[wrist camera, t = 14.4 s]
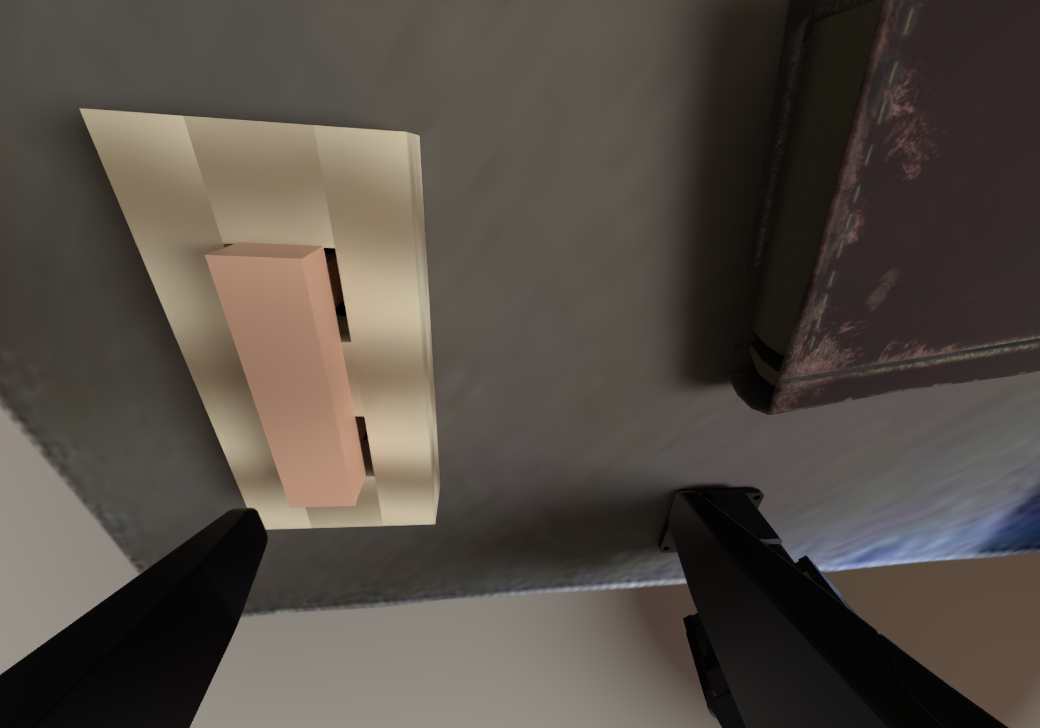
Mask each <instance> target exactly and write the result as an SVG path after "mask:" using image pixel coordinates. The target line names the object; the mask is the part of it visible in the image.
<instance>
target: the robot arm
mask: <svg viewBox="0 0 1040 728" xmlns="http://www.w3.org/2000/svg"><path fill="white" fill-rule="evenodd" d="M763 497H764V495H763V493H762V492H761V491H760V490H759V489H715V490H683V491H680V492H678V493H677V494H676V496H675V498H674V502H673V505H672V508H671V511H670V513H669V516H668V519H667V522H666V524H665V527H664V530H663V532H662V535H661V538H660V541H659V543H658V547H659V549H660V551H661V552H664V553H667V552H678V556H679V559H680V562H681V565H682V568H683V572H684V575H685V578H686V581H687V584H688V587H689V590H690V593H691V596H692V599H693V601H694V604H695V607H696V608H697V611H698V613H696V614H694V615H688V616H686V617H685V618H683V620H684V624H685V627H686V631H687V632H686V634H687V638H688V641H689V645H690V648H691V652H692V655H693V659H694V662H695V666H696V669H697V672H698V676H699V680H700V683H701V686H702V690H703V693H704V696H705V700H706V702H707V707H708V710H709V712H710V714H711V715H712V716H713V717H714V718H716V719H717V720H718V721H719V723H720V725H721V726H722V728H1008V727H1007V726H1005V725H1004V724H1003V723H1001V722H1000V721H998V720H997V719H995V718H994V717H993V716H991V715H990V714H989V713H987V712H986V711H984V710H983V709H982V708H980V707H979V706H977V705H976V704H975V703H973V702H972V701H970V700H969V699H967V698H966V697H965V696H963V695H962V694H961V693H959V692H958V691H956V690H955V689H954V688H952V687H951V686H949V685H948V684H947V683H945V682H944V681H943V680H941V679H940V678H939V677H937V676H936V675H935V674H933V673H932V672H931V671H930V670H928V669H927V668H925V667H924V666H923V665H922V664H920V663H919V662H917V661H916V660H915V659H913V658H912V657H911V656H910V655H908V654H907V653H906V652H904V651H903V650H902V649H900V648H899V647H898V646H896V645H895V644H894V643H893V642H891V641H890V640H889V639H887V638H886V637H885V636H883V635H881V634H878V632H877V631H876V630H875V629H874V628H873V627H872V626H870V625H869V624H868V623H867V622H865V621H864V620H862V619H861V618H860V617H859V616H858V615H857V614H856V612H855V611H854V610H853V609H852V607H851V606H850V605H849V604H848V603H847V602H846V600H845V599H844V598H843V596H842V595H841V594H840V593H839V592H838V590H837V589H836V588H835V587H834V586H833V584H832V583H831V582H830V581H829V580H828V579H827V578H826V576H825V575H824V574H823V573H822V572H821V571H820V570H819V569H818V568H817V567H816V565H815V564H814V563H813V562H812V561H811V560H810V559H809V558H808V557H807V556H804V557H802V558H800V559H798V560H799V561H798V562H796V563H795V562H794V561H793V560H792V558H791V557H790V556H789V554H788V553H787V552H786V551H785V549H784V548H783V547H782V545H781V542H782V541H781V539H780V538H779V536H778V535H777V534H776V532H775V531H774V530H773V529H772V527H771V526H770V525H769V523H768V522H767V521H766V519H765V518H764V517H763V516H762V514H761V513H760V512H759V510H758V509H757V508H758V507H759V505H760V503H761V501H762V499H763ZM267 540H268V536H267V531H266V529H265V527H264V524H263V522H262V520H261V518H260V515H259V513H258V511H257V510H256V509H255V508H235V509H232V510H229V511H228V512H226V513H225V514H224V515H222V516H221V517H219V518H218V519H217V520H215V521H214V522H212V523H211V524H210V525H208V526H207V527H205V528H204V529H203V530H201V531H200V532H198V533H197V534H196V535H194V536H193V537H191V538H190V539H189V540H187V541H186V542H185V543H183V544H182V545H180V546H179V547H178V548H176V549H175V550H173V551H172V552H171V553H169V554H168V555H166V556H165V557H164V558H162V559H161V560H159V561H158V562H157V563H155V564H154V565H153V566H151V567H150V568H148V569H147V570H146V571H144V572H143V573H141V574H140V575H139V576H137V577H136V578H134V579H133V580H132V581H130V582H129V583H127V584H126V585H125V586H123V587H122V588H120V589H119V590H118V591H116V592H115V593H114V594H112V595H111V596H109V597H108V598H107V599H105V600H104V601H102V602H101V603H100V604H98V605H97V606H95V607H94V608H93V609H91V610H90V611H88V612H87V613H86V614H84V615H83V616H82V617H80V618H79V619H77V620H76V621H75V622H73V623H72V624H70V625H69V626H68V627H66V628H65V629H64V630H62V631H61V632H59V633H58V634H57V635H55V636H54V637H52V638H51V639H50V640H48V641H47V642H45V643H44V644H43V645H41V646H40V647H38V648H37V649H36V650H34V651H33V652H31V653H30V654H29V655H27V656H26V657H24V658H23V659H22V660H20V661H19V662H17V663H16V664H15V665H13V666H12V667H11V668H9V669H8V670H7V671H5V672H4V673H2V674H1V675H0V728H190V725H191V723H192V721H193V719H194V717H195V715H196V713H197V711H198V708H199V706H200V704H201V702H202V700H203V698H204V696H205V694H206V691H207V689H208V687H209V685H210V683H211V681H212V678H213V677H214V674H215V672H216V670H217V668H218V666H219V663H220V662H221V659H222V657H223V655H224V653H225V651H226V649H227V647H228V645H229V642H230V640H231V638H232V636H233V634H234V631H235V629H236V627H237V624H238V622H239V620H240V617H241V614H242V612H243V609H244V606H245V604H246V601H247V598H248V595H249V593H250V590H251V587H252V584H253V581H254V579H255V576H256V573H257V570H258V568H259V565H260V562H261V559H262V556H263V554H264V551H265V548H266V545H267Z"/></svg>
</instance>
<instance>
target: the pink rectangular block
mask: <svg viewBox="0 0 1040 728" xmlns="http://www.w3.org/2000/svg"><path fill="white" fill-rule="evenodd" d="M205 257H206V260H207V263H208V266H209V269H210V272H211V275H212V278H213V281H214V284H215V287H216V290H217V293H218V296H219V299H220V302H221V305H222V308H223V310H224V313H225V316H226V319H227V322H228V325H229V328H230V331H231V334H232V337H233V340H234V343H235V346H236V349H237V352H238V355H239V358H240V361H241V364H242V367H243V370H244V373H245V376H246V379H247V382H248V385H249V387H250V390H251V393H252V396H253V399H254V402H255V405H256V408H257V411H258V414H259V417H260V420H261V423H262V426H263V429H264V432H265V435H266V438H267V441H268V444H269V447H270V450H271V453H272V456H273V459H274V461H275V464H276V467H277V470H278V473H279V476H280V479H281V482H282V485H283V488H284V491H285V494H286V497H287V500H288V503H289V506H290V508H295V507H336V506H355V504H356V502H357V499H358V496H359V493H360V491H361V488H362V485H363V482H364V480H365V477H366V473H365V467H364V462H363V457H362V451H361V446H360V445H361V443H362V440H363V438H364V436H365V433H366V431H367V429H366V424H365V418H364V416H355V414H354V408H353V403H352V397H351V392H350V387H349V381H348V376H347V371H346V365H345V360H344V354H343V349H342V344H341V338H340V333H339V327H338V322H337V317H336V311H335V307H336V306H337V305H338V304H339V303H340V302H341V301H342V300H343V299H344V297H343V291H342V285H341V280H340V274H339V268H338V262H337V257H336V254H334V253H325V252H324V247H323V246H312V245H289V244H266V243H243V242H239V243H236V244H233V245H231V246H228V247H225V248H222V249H220V250H217V251H214V252H211V253H209V254H206V255H205Z"/></svg>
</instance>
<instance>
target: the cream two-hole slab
mask: <svg viewBox="0 0 1040 728" xmlns="http://www.w3.org/2000/svg"><path fill="white" fill-rule="evenodd" d="M79 109H80V111H81V114H82V116H83V119H84V121H85V123H86V126H87V128H88V130H89V133H90V135H91V138H92V140H93V142H94V145H95V147H96V149H97V152H98V154H99V157H100V159H101V161H102V164H103V166H104V168H105V171H106V173H107V176H108V178H109V180H110V183H111V185H112V188H113V190H114V192H115V195H116V197H117V199H118V202H119V204H120V207H121V209H122V211H123V214H124V216H125V218H126V221H127V223H128V226H129V228H130V230H131V233H132V235H133V237H134V240H135V242H136V245H137V247H138V249H139V252H140V254H141V256H142V259H143V261H144V264H145V266H146V268H147V271H148V273H149V275H150V278H151V280H152V283H153V285H154V287H155V290H156V292H157V294H158V297H159V299H160V302H161V304H162V306H163V309H164V311H165V313H166V316H167V318H168V321H169V323H170V325H171V328H172V330H173V332H174V335H175V337H176V340H177V342H178V344H179V347H180V349H181V351H182V354H183V356H184V359H185V361H186V363H187V366H188V368H189V371H190V373H191V375H192V378H193V380H194V382H195V385H196V387H197V390H198V392H199V394H200V397H201V399H202V401H203V404H204V406H205V409H206V411H207V413H208V416H209V418H210V420H211V423H212V425H213V428H214V430H215V432H216V435H217V437H218V439H219V442H220V444H221V447H222V449H223V451H224V454H225V456H226V458H227V461H228V463H229V466H230V468H231V470H232V473H233V475H234V477H235V480H236V482H237V485H238V487H239V489H240V492H241V494H242V496H243V499H244V501H245V504H246V506H247V508H255V509H256V510H257V511H258V513H259V515H260V518H261V520H262V522H263V524H264V527H265V529H266V530H269V529H301V528H333V527H365V526H397V525H429V524H435V521H436V514H437V506H438V499H439V491H440V474H439V457H438V441H437V424H436V407H435V390H434V373H433V357H432V340H431V323H430V306H429V289H428V273H427V256H426V239H425V222H424V205H423V189H422V172H421V155H420V138H419V135H416V134H412V133H408V132H400V131H386V130H372V129H359V128H345V127H331V126H317V125H303V124H290V123H276V122H262V121H248V120H234V119H220V118H207V117H193V116H179V115H165V114H151V113H138V112H124V111H110V110H96V109H82V108H79ZM239 242H243V243H266V244H289V245H312V246H323V247H324V248H335V251H336V257H337V262H338V268H339V274H340V280H341V285H342V291H343V297H344V303H345V308H346V314H347V316H339V315H336V317H337V322H338V327H339V333H340V338H341V344H342V349H343V354H344V360H345V365H346V371H347V376H348V381H349V387H350V392H351V397H352V403H353V408H354V414H355V416H364V418H365V424H366V429H367V435H368V440H362V443H361V445H360V446H361V451H362V457H363V462H364V467H365V473H366V477H365V480H364V482H363V485H362V488H361V491H360V493H359V496H358V499H357V502H356V504H355V506H336V507H295V508H290V506H289V503H288V500H287V497H286V494H285V491H284V488H283V485H282V482H281V479H280V476H279V473H278V470H277V467H276V464H275V461H274V459H273V456H272V453H271V450H270V447H269V444H268V441H267V438H266V435H265V432H264V429H263V426H262V423H261V420H260V417H259V414H258V411H257V408H256V405H255V402H254V399H253V396H252V393H251V390H250V387H249V385H248V382H247V379H246V376H245V373H244V370H243V367H242V364H241V361H240V358H239V355H238V352H237V349H236V346H235V343H234V340H233V337H232V334H231V331H230V328H229V325H228V322H227V319H226V316H225V313H224V310H223V308H222V305H221V302H220V299H219V296H218V293H217V290H216V287H215V284H214V281H213V278H212V275H211V272H210V269H209V266H208V263H207V260H206V257H205V255H206V254H209V253H211V252H214V251H217V250H220V249H222V248H225V247H228V246H231V245H233V244H236V243H239Z"/></svg>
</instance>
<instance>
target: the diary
mask: <svg viewBox="0 0 1040 728" xmlns="http://www.w3.org/2000/svg"><path fill="white" fill-rule="evenodd" d="M763 264H764V269H763V274H762V280H761V285H760V290H759V296H758V301H757V306H756V311H755V317H754V322H753V327H752V330H753V331H754V332H755V333H756V334H757V335H758V337H759V338H760V339H761V340H760V341H754V342H750V343H749V344H743V345H736V346H734V347H733V348H734V349H735V348H741V347H747V346H749V352H750V354H751V357H752V359H753V362H754V365H755V367H756V369H754V370H748V371H742V372H736V373H730V374H729V376H728V379H729V380H730V382H731V384H732V386H733V388H734V390H735V391H736V393H737V395H738V396H739V397H740V398H741V399H742V400H743V401H744V402H745V403H746V404H747V405H748V406H749V407H751V408H752V409H755V410H757V411H760V412H762V413H765V414H767V415H771V414H779V413H785V412H791V411H796V410H802V409H807V408H812V407H818V406H823V405H828V404H834V403H839V402H844V401H850V400H855V399H860V398H865V397H871V396H876V395H881V394H887V393H892V392H897V391H905V390H912V389H919V388H927V387H934V386H942V385H949V384H956V383H964V382H971V381H978V380H986V379H993V378H1001V377H1008V376H1015V375H1021V374H1026V373H1031V372H1037V371H1040V0H790V4H789V9H788V15H787V21H786V27H785V33H784V39H783V45H782V51H781V57H780V64H779V70H778V76H777V83H776V89H775V95H774V102H773V108H772V114H771V121H770V127H769V133H768V140H767V146H766V152H765V159H764V165H763V171H762V178H761V184H760V190H759V197H758V203H757V209H756V216H755V222H754V228H753V235H752V241H751V247H750V254H749V260H748V266H747V269H748V268H752V267H755V266H759V265H763Z"/></svg>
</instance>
